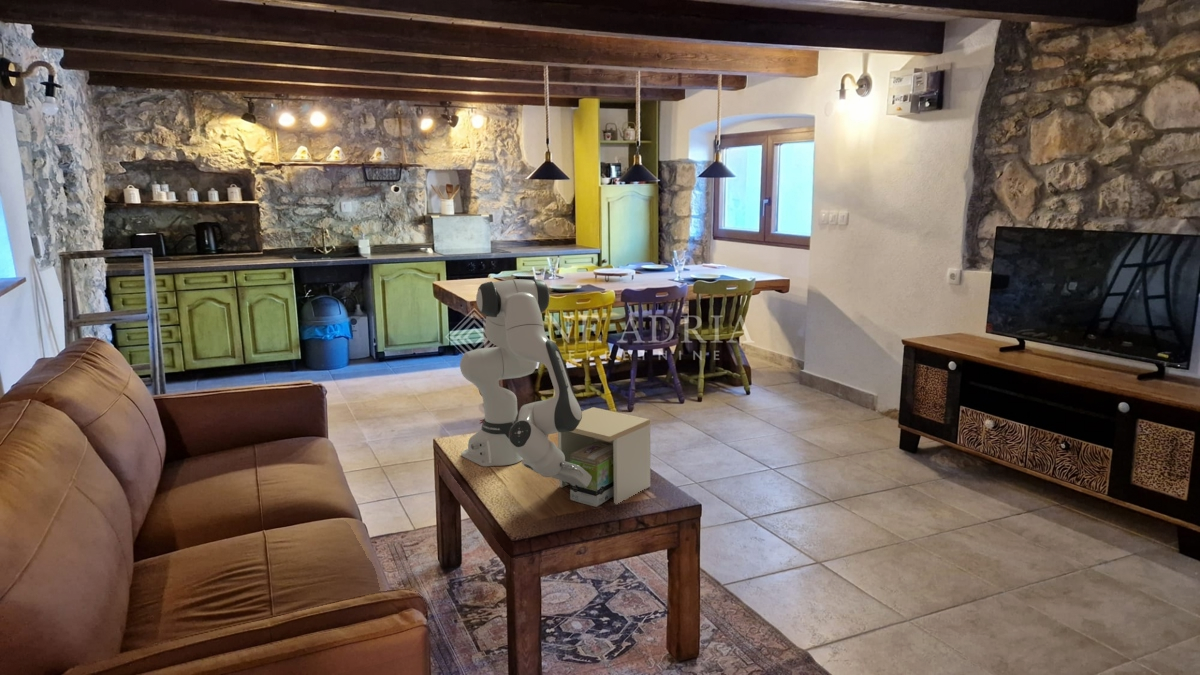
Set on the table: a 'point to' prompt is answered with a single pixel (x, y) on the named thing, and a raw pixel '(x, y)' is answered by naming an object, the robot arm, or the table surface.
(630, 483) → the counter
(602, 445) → the tea box
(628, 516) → the table surface
